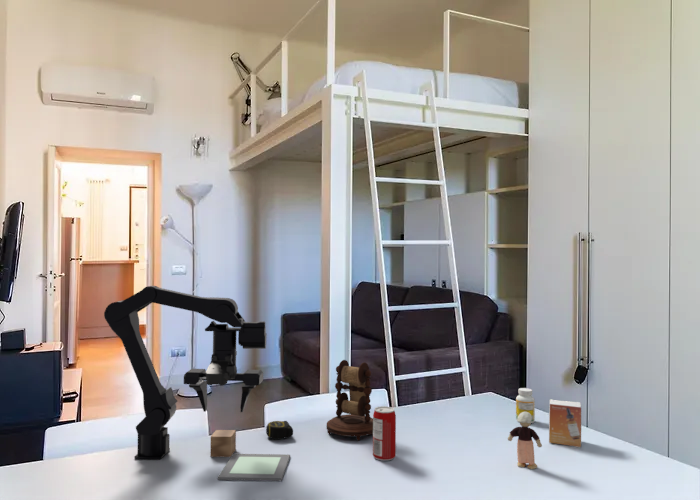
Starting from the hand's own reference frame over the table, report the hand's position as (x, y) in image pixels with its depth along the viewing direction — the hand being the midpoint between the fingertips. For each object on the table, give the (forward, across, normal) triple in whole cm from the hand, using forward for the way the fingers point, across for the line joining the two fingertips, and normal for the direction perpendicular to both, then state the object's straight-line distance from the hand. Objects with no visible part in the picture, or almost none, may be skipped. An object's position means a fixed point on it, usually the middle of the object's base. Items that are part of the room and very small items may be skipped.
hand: (223, 411), depth 131 cm
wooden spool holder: (+10, +32, +17) cm, 38 cm away
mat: (+10, +10, -9) cm, 17 cm away
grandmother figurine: (+10, +73, -5) cm, 74 cm away
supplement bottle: (+10, +84, +30) cm, 90 cm away
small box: (+10, +89, +12) cm, 90 cm away
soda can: (+10, +40, -1) cm, 41 cm away
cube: (+10, 0, 0) cm, 10 cm away
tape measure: (+11, +13, +13) cm, 21 cm away
